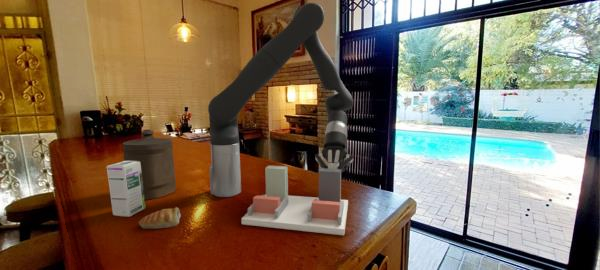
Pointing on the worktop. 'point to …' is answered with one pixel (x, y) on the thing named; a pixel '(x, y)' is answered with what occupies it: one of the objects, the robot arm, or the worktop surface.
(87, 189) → the worktop surface
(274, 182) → the pale green tall block
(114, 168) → the syrup box
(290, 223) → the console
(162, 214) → the pastry
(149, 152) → the grey canister
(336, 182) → the grey upright block
